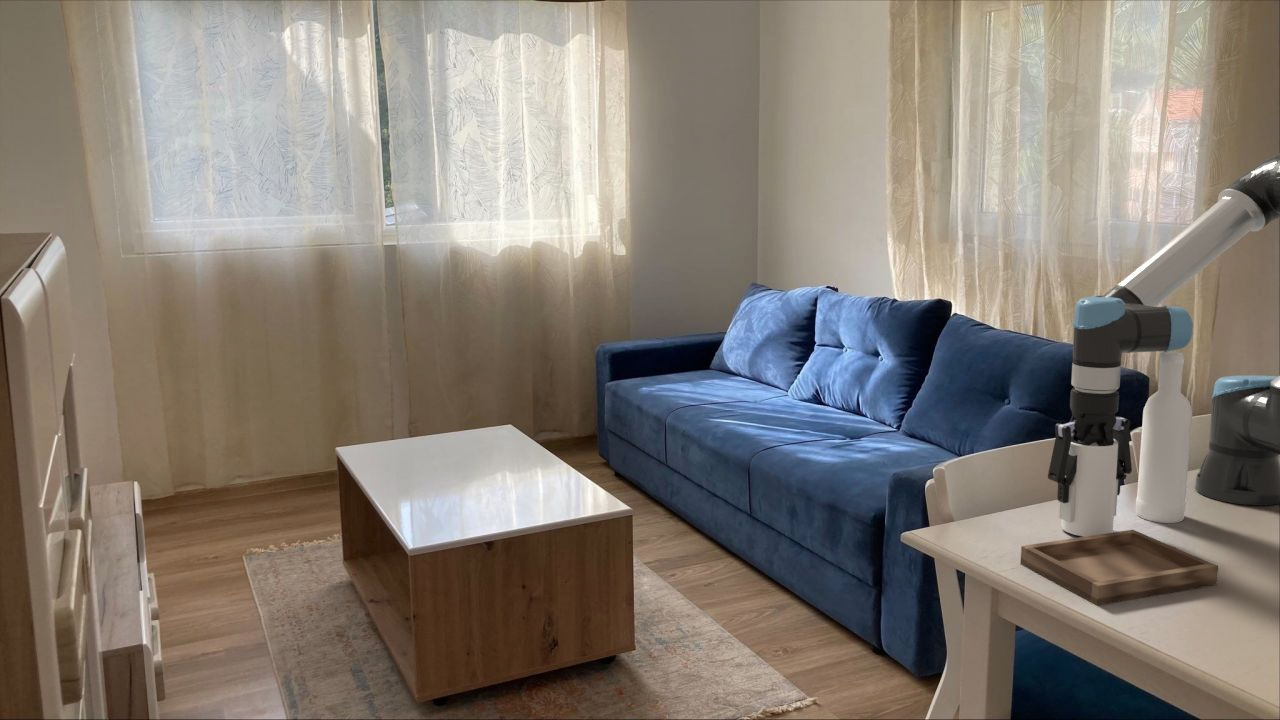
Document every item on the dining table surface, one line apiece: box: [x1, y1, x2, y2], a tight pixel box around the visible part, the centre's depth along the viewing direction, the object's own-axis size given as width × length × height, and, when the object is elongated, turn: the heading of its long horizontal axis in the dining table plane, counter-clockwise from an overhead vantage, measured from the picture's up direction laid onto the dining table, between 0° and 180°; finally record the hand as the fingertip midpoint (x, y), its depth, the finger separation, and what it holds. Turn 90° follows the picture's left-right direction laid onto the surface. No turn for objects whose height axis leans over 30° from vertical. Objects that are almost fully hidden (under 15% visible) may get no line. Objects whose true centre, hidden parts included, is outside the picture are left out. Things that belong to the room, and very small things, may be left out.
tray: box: [1020, 529, 1219, 606], centre depth 158 cm, size 22×17×3 cm
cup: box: [1060, 439, 1118, 537], centre depth 176 cm, size 8×8×16 cm
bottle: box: [1135, 351, 1193, 524], centre depth 182 cm, size 8×8×30 cm
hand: (1087, 516), depth 177 cm, fingers closed on cup, 8 cm apart
